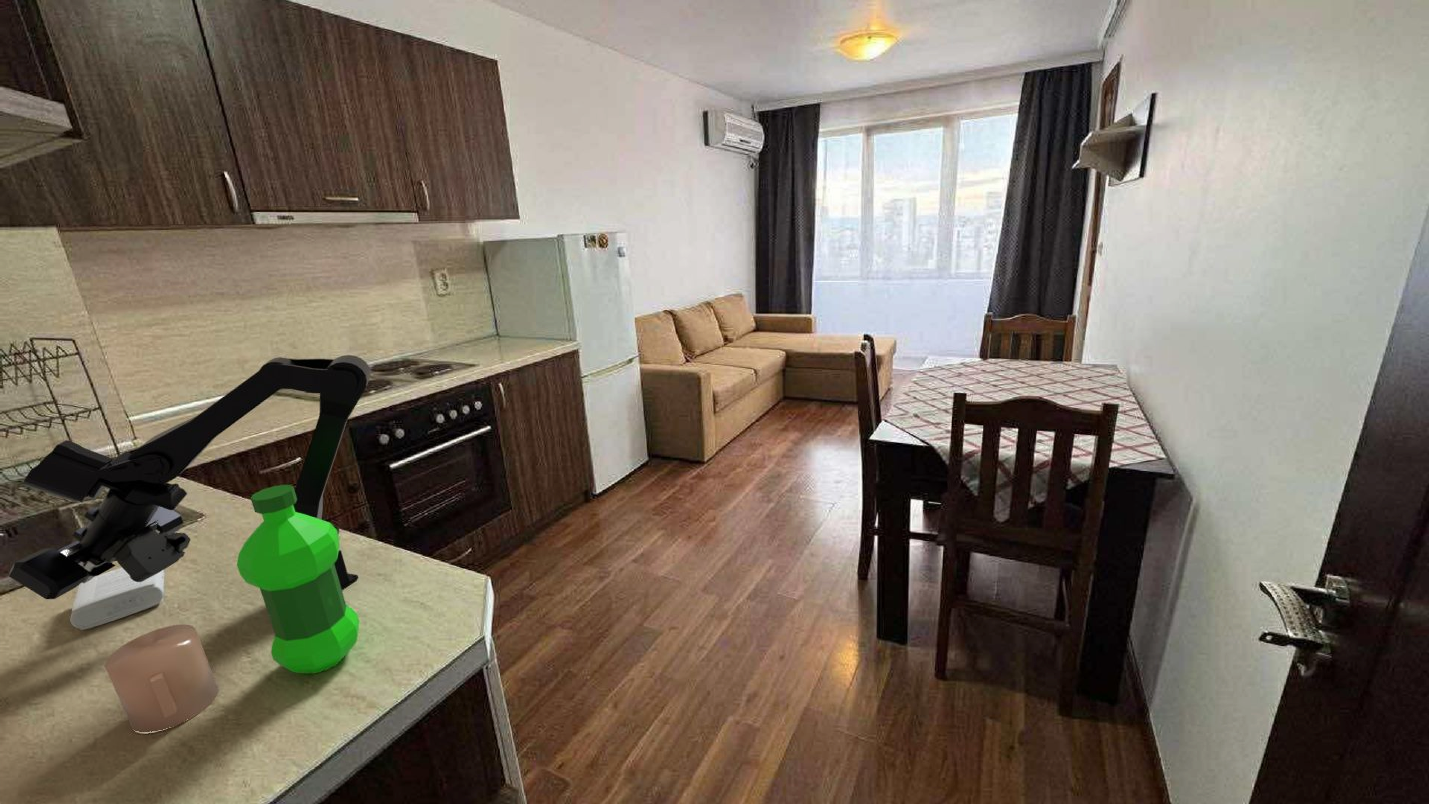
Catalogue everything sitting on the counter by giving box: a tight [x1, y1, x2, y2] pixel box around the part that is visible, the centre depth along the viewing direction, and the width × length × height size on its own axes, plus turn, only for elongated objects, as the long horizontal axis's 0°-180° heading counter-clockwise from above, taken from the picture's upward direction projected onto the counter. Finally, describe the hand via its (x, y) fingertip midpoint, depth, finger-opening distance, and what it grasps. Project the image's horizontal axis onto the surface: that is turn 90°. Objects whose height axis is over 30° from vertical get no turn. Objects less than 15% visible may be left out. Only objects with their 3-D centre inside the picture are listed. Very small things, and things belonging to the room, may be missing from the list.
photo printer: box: [69, 567, 165, 631], centre depth 92 cm, size 10×4×12 cm
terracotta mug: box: [104, 623, 219, 732], centre depth 69 cm, size 9×8×9 cm
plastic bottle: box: [236, 484, 360, 675], centre depth 74 cm, size 10×10×25 cm
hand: (83, 580), depth 85 cm, fingers closed
